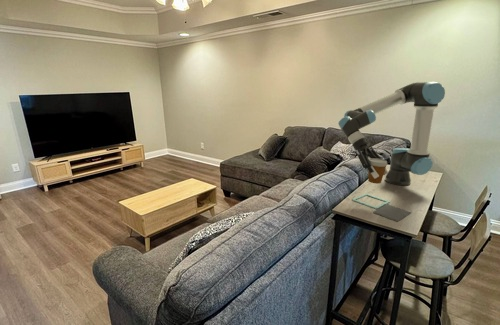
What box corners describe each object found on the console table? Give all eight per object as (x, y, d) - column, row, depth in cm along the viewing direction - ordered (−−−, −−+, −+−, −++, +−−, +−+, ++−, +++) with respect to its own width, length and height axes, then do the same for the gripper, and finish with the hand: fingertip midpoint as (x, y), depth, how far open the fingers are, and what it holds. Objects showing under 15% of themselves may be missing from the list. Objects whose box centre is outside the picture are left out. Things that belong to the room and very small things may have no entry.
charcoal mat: (387, 205, 143) (387, 204, 143) (410, 213, 134) (411, 212, 134) (372, 212, 135) (373, 211, 134) (397, 221, 125) (397, 220, 125)
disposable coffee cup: (388, 184, 140) (392, 162, 136) (373, 185, 137) (376, 163, 134) (375, 178, 149) (379, 157, 145) (361, 179, 146) (364, 158, 143)
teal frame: (365, 194, 158) (365, 193, 158) (389, 202, 147) (390, 201, 147) (351, 200, 149) (352, 199, 149) (376, 209, 138) (376, 208, 138)
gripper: (363, 142, 156) (386, 175, 148) (341, 147, 144) (365, 183, 136) (373, 135, 150) (397, 168, 143) (351, 139, 138) (376, 176, 130)
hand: (381, 175), depth 139 cm, fingers closed on disposable coffee cup, 9 cm apart
